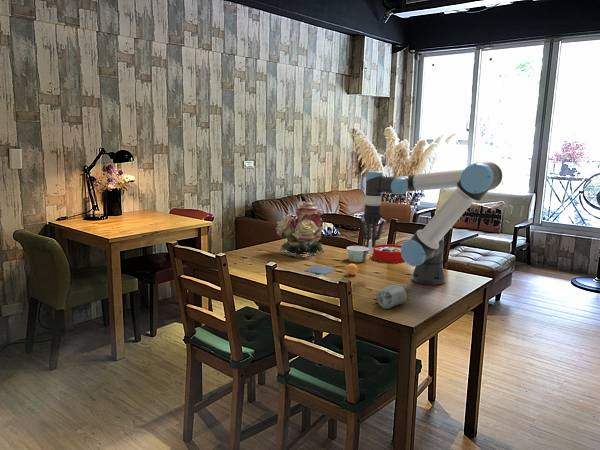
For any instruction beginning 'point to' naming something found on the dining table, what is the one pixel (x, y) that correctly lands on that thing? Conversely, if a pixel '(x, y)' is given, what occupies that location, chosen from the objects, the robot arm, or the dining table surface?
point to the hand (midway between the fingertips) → (370, 253)
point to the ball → (352, 269)
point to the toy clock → (387, 253)
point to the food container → (357, 253)
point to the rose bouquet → (302, 230)
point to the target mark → (320, 270)
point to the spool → (391, 296)
